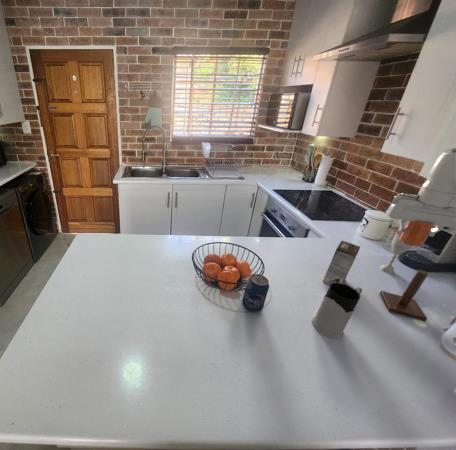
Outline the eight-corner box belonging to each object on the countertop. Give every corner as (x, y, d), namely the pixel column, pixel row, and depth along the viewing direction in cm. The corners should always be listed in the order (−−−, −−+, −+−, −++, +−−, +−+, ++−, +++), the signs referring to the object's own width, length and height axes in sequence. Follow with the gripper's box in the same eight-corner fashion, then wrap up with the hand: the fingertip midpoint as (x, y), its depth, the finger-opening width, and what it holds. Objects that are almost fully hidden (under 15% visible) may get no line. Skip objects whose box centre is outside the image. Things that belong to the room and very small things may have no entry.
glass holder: (305, 320, 82) (321, 285, 75) (333, 309, 87) (350, 275, 80) (331, 342, 75) (350, 305, 68) (360, 327, 80) (380, 292, 73)
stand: (412, 302, 91) (435, 268, 84) (425, 321, 83) (451, 285, 76) (379, 293, 95) (398, 260, 88) (388, 311, 87) (410, 276, 80)
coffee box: (327, 272, 106) (341, 239, 99) (345, 279, 102) (361, 246, 95) (321, 281, 101) (336, 247, 93) (340, 289, 97) (356, 255, 89)
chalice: (401, 275, 106) (423, 239, 98) (385, 274, 106) (406, 238, 98) (387, 265, 113) (407, 230, 105) (372, 264, 113) (391, 230, 104)
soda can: (240, 310, 85) (247, 283, 79) (241, 297, 91) (248, 270, 85) (262, 316, 83) (271, 288, 77) (262, 302, 89) (270, 275, 83)
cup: (417, 240, 93) (430, 218, 89) (425, 248, 88) (439, 225, 83) (395, 236, 95) (407, 215, 91) (402, 243, 90) (414, 221, 86)
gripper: (400, 194, 85) (382, 230, 91) (483, 205, 77) (457, 243, 83) (393, 189, 90) (377, 223, 96) (470, 199, 82) (447, 235, 88)
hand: (415, 233), depth 90 cm, fingers closed on cup, 6 cm apart
